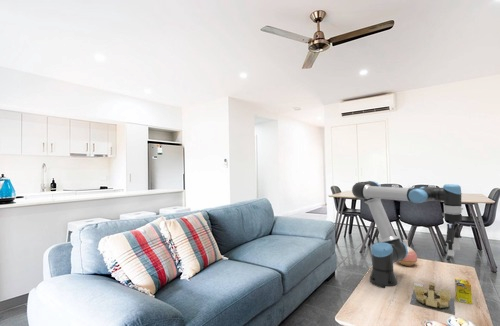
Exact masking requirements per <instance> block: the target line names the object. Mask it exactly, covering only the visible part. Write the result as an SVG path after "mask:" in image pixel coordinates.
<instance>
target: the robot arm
mask: <svg viewBox="0 0 500 326" xmlns="http://www.w3.org/2000/svg"><path fill="white" fill-rule="evenodd" d="M351 193H352V195H353V196H354V197H355V198H356V199H359V200H363V202H364V203H365V204H367V205H368V209H369V210H370V213H371V215H372V216H371V217H372V218H373V220H374V223H375V226H376V229H377V231H378V233H379V235H380V238H381V239H380V242H376V243H373V244H372V246H371V251H370V252H371V268H372V269H371V272H370V276H369V281H370V284H371V285H374V286H376V287H378V288H383V289H385V288H386V287H387V288H388V287H389V288H390V287H396V286H397V285H398V279H397V277H396V274H395V272H394V264H395V263H397V262H398V261H401V260H403V259H404V258H406V256H407V254H408V249H407V247H406V245H405V244H404V243H403V241H401V239H400V237H399V236H397V235H396V234H395V231H394V229H393V226H392V225H391V222H390V220H389V217H388V215H387V212H386V210H385V207H384V206H383V202H382V200H392V201H404V202H412V203H414V204H422V203H425V202H431V201H437V202H443V212H444V213H443V215H444V216H443V217H444V220H445V221H447V222H448V223H447V225H446V226H447V228H446V229H447V230H446V240H445V241H444V242H445V244H447V246H446V247H447V251H446V253H447V256H448V257H455V251H461V242H460V241H461V239H462V235H461V229H460V222H463V214H462V212H463V211H462V210H464V208H463V207H462V194H463V193H462V186H461V185H459V184H451V183H450V184H447V183H446V184H444V185H443V187H435V186H434V187H433V186H421V187H419V188H417V187H415V188H414V187H396V186H395V187H394V186H381V184H379V183H378V182H376V181H372V180H368V181H367V180H366V181H358V182H355V184H354V185H353V186H352V188H351ZM398 263H399V262H398Z"/></svg>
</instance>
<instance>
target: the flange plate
mask: <svg viewBox="0 0 500 326" xmlns="http://www.w3.org/2000/svg"><path fill="white" fill-rule="evenodd" d="M427 297H428V295H427ZM434 298H435V299H437V297H436V296H435V295H434ZM450 299H451V301H450V300H449V306H448V307H444V308H439V307H438V306H437V307H432V306H428V305H426V304H423V303H421V302H420V301H418V300H417V299H416V293H414V289H413V291H412V293H411V299H410V303H409V304H410V305H412V306H416V307H420V308H424V309H428V310H432V311H436V312H440V313H444V314H448V315H453V316H456V309H455V308H456V307H455V299H454V298H452V297H450Z"/></svg>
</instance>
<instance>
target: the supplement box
mask: <svg viewBox="0 0 500 326" xmlns="http://www.w3.org/2000/svg"><path fill="white" fill-rule="evenodd" d="M454 289H455V299H456V301H457V302H458V303H464V304H468V305H473V297H472V284H471V281H470V280H467V279H461V278H454Z"/></svg>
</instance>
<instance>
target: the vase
mask: <svg viewBox="0 0 500 326" xmlns="http://www.w3.org/2000/svg"><path fill="white" fill-rule="evenodd" d="M402 243H404V244H405V245H406V247H407V249H408V254H407V256H406V258H404V259H403V260H401V261H398V263H400V264H401V266H405V267H411V266H414V265H415V264H416V263H417V262H418V255H417V253H416V251H415V250H414V249H413V248H411V247H410V246H409V240H408V239H402Z"/></svg>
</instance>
